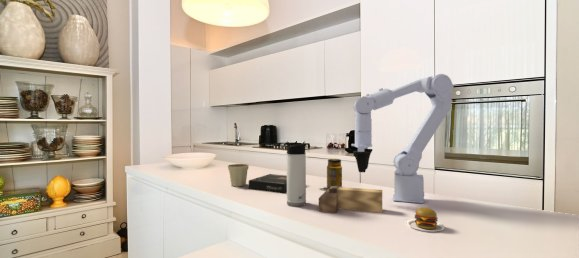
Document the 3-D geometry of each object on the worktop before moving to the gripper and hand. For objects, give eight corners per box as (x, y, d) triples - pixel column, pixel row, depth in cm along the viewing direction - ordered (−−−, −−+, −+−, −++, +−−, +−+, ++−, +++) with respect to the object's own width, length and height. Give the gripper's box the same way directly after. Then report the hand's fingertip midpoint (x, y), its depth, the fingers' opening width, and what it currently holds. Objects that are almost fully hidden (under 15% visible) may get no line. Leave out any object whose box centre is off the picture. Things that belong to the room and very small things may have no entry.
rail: (382, 209, 92) (382, 188, 92) (381, 212, 89) (381, 191, 89) (334, 204, 97) (334, 185, 97) (332, 207, 94) (332, 188, 94)
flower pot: (225, 184, 131) (224, 164, 131) (245, 182, 135) (245, 163, 135) (230, 188, 122) (230, 167, 122) (252, 186, 126) (252, 165, 126)
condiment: (346, 189, 120) (346, 159, 120) (333, 192, 114) (333, 161, 114) (332, 186, 125) (332, 157, 125) (318, 189, 120) (318, 159, 119)
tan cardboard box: (343, 201, 101) (343, 186, 101) (335, 213, 89) (335, 196, 88) (328, 200, 103) (328, 185, 103) (318, 211, 90) (318, 194, 90)
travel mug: (305, 207, 95) (305, 144, 94) (285, 206, 96) (284, 144, 96) (308, 201, 101) (307, 142, 101) (289, 201, 102) (288, 142, 102)
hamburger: (411, 218, 86) (411, 199, 85) (458, 228, 77) (458, 207, 77) (392, 228, 77) (392, 207, 77) (442, 242, 69) (442, 218, 68)
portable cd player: (303, 185, 128) (303, 176, 128) (284, 194, 113) (284, 184, 113) (270, 182, 136) (270, 173, 136) (248, 190, 121) (248, 180, 121)
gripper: (354, 131, 113) (354, 166, 113) (348, 132, 99) (348, 173, 99) (373, 131, 110) (373, 167, 111) (370, 132, 97) (370, 174, 97)
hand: (363, 170), depth 105 cm, fingers open, 7 cm apart
